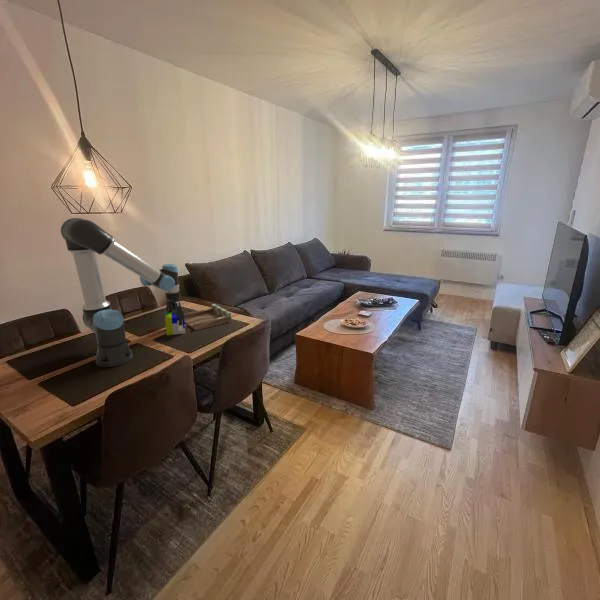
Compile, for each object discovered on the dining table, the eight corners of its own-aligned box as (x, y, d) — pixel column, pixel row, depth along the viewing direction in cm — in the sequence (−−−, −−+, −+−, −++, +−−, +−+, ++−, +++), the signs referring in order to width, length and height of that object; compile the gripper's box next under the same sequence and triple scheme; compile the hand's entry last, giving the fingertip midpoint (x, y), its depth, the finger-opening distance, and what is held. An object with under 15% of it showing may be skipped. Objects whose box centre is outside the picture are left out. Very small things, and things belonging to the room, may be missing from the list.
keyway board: (231, 321, 207) (230, 312, 205) (195, 330, 192) (194, 320, 190) (214, 312, 223) (214, 303, 221) (180, 320, 207) (179, 310, 206)
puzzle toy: (185, 333, 188) (184, 317, 185) (166, 335, 184) (165, 318, 181) (184, 327, 196) (183, 311, 194) (166, 329, 193) (165, 313, 190)
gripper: (188, 295, 177) (191, 331, 183) (170, 286, 194) (174, 319, 201) (174, 298, 172) (178, 335, 178) (157, 288, 190) (161, 322, 196)
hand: (176, 326), depth 190 cm, fingers open, 13 cm apart
